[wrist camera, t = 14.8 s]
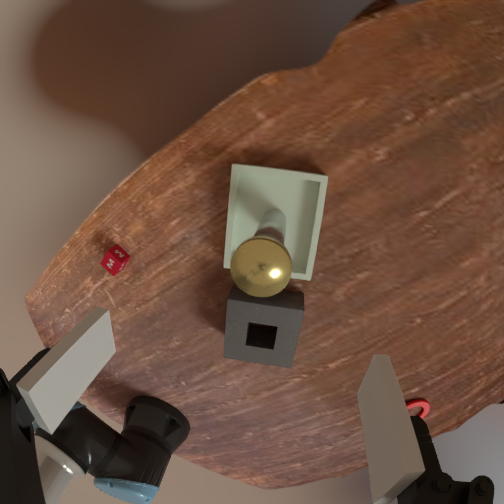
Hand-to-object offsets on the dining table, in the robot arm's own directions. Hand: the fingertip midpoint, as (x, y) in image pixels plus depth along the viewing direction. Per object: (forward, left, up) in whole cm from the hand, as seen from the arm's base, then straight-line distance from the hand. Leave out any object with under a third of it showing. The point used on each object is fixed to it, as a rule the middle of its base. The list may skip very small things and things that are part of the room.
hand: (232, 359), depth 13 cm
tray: (0, 0, -28) cm, 28 cm away
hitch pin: (0, 0, -27) cm, 27 cm away
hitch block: (+1, -15, -28) cm, 31 cm away
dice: (-23, -9, -28) cm, 38 cm away
